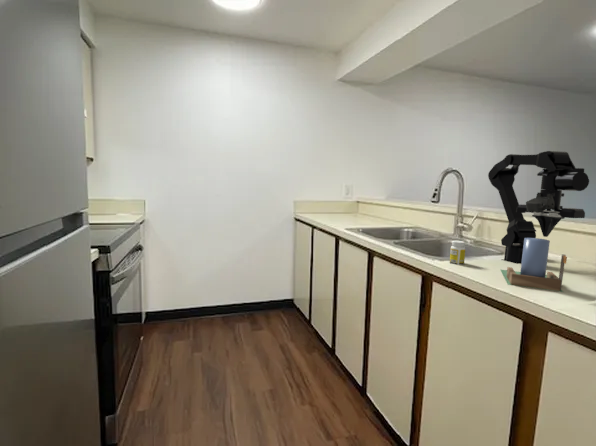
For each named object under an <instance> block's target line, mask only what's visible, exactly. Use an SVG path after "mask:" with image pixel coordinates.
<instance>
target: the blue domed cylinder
mask: <svg viewBox="0 0 596 446" xmlns="http://www.w3.org/2000/svg"><path fill="white" fill-rule="evenodd" d="M549 252H550V240H549V239H545V238H539V237H538V238H537V237H536V238H524V245H523V254H522V263H520V271H519V272H520V275H528V276H536V277H545V275H547V274H546V273H547V268H548V258H549Z"/></svg>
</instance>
